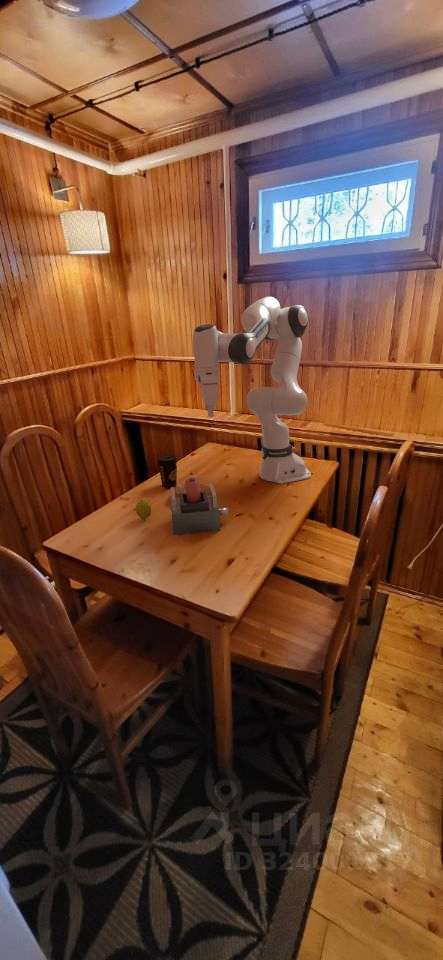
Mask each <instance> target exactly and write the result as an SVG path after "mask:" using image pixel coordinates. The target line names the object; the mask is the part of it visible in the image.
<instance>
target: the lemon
mask: <svg viewBox="0 0 443 960" xmlns="http://www.w3.org/2000/svg"><path fill="white" fill-rule="evenodd" d="M135 513H136V515H137V516H138V518H140V519H143V520H146V519H148V518H149V517H150V516H151V514H152V506H151V504H150V502H149V501H148V500H146V499H143V498H142V499H141V500H139V501H138V502H137V503H136V505H135Z"/></svg>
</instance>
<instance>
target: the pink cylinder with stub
mask: <svg viewBox="0 0 443 960" xmlns="http://www.w3.org/2000/svg"><path fill="white" fill-rule="evenodd" d="M200 482H201V481H200V479H199V478H198V477H189V478H187V479H185V481H184V484H186V485H181V484H180V485H177V486H178V489H185V488H186V496H187V503H193V502H201V496H200V484H201V483H200Z"/></svg>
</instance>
